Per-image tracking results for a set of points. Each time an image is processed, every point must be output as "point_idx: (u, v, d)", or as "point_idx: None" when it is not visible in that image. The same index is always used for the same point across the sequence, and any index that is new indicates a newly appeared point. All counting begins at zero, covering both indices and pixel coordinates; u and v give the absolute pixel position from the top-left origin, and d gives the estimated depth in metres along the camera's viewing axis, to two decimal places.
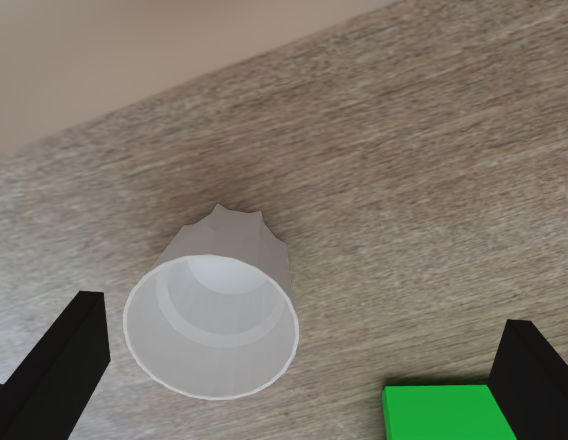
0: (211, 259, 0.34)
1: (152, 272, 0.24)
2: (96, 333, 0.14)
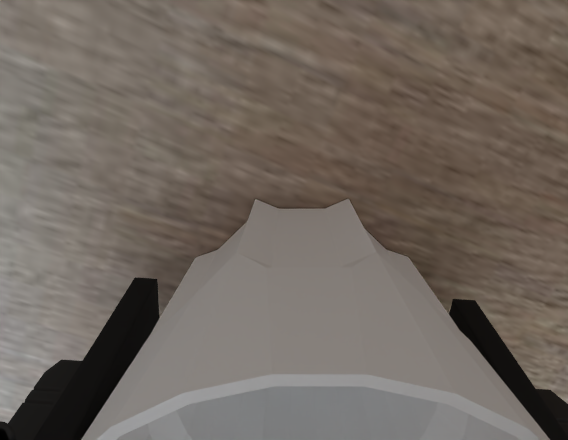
0: None
1: (306, 381, 0.06)
2: (152, 317, 0.15)
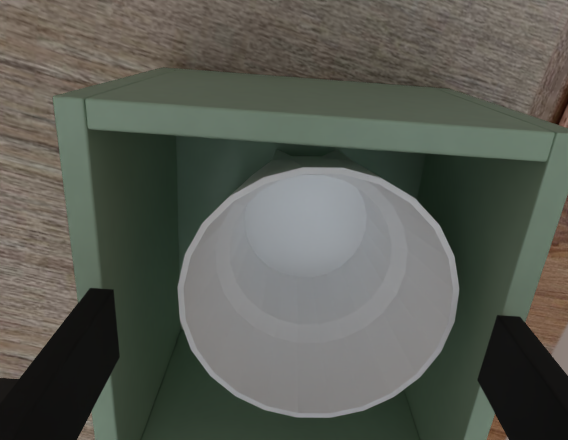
0: (281, 210, 0.25)
1: (317, 171, 0.15)
2: (107, 330, 0.14)
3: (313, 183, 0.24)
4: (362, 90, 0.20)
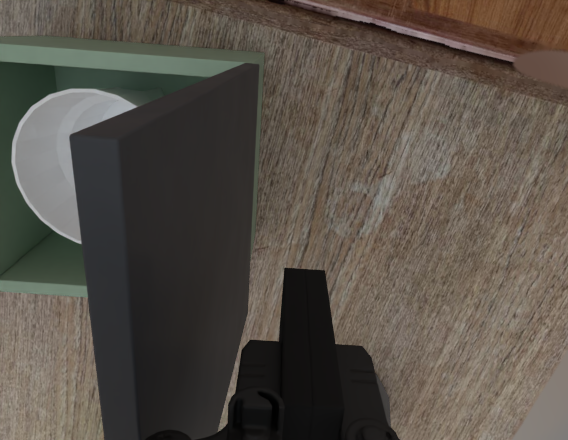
0: None
1: (16, 175, 0.27)
2: None
3: None
4: None
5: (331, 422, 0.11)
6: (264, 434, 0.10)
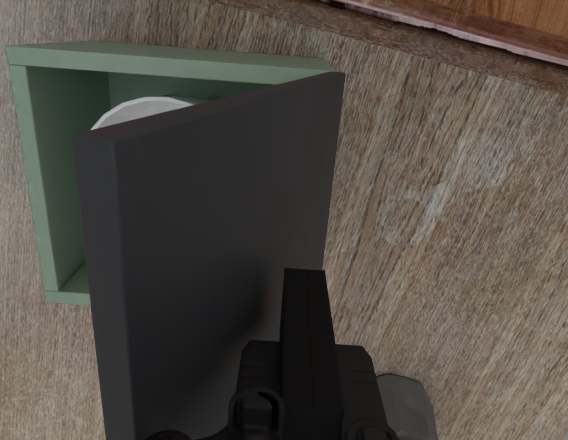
0: None
1: None
2: None
3: None
4: None
5: (331, 422, 0.11)
6: (264, 434, 0.10)
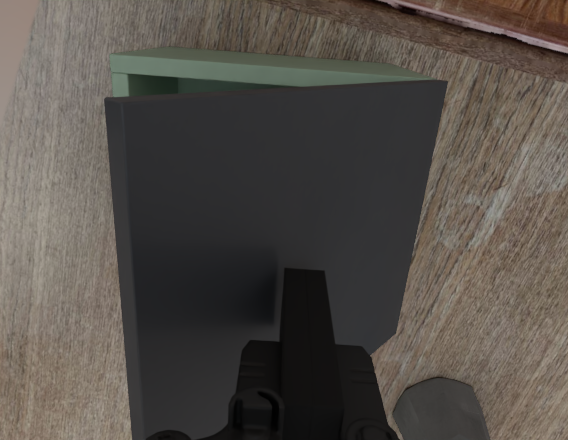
0: None
1: None
2: None
3: None
4: None
5: (331, 422, 0.11)
6: (264, 434, 0.10)
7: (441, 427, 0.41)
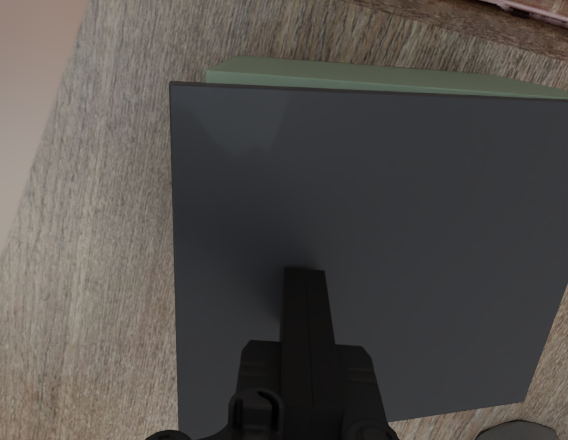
0: None
1: None
2: None
3: None
4: None
5: (331, 422, 0.11)
6: (264, 434, 0.10)
7: None
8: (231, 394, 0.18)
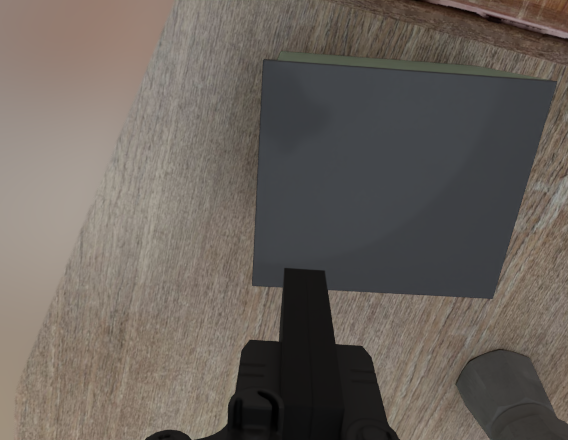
0: None
1: None
2: None
3: None
4: None
5: (331, 422, 0.11)
6: (264, 434, 0.10)
7: (508, 392, 0.46)
8: (284, 250, 0.31)
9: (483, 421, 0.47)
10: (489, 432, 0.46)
